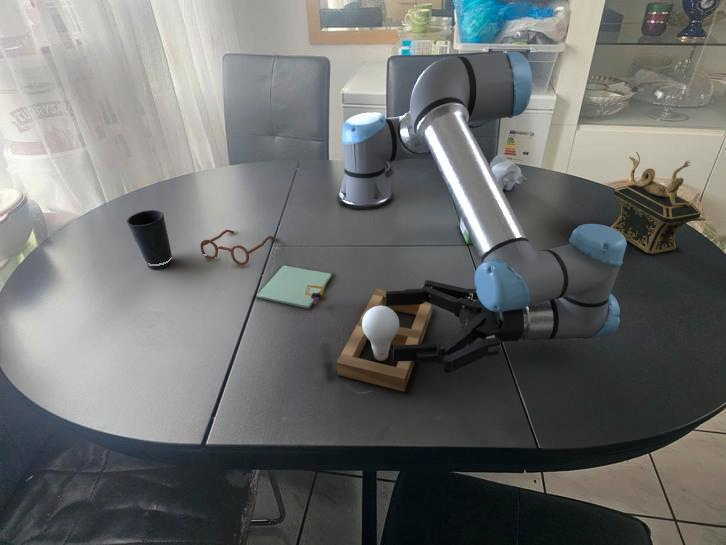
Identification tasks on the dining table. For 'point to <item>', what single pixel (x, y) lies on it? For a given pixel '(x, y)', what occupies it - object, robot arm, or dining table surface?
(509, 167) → the elephant figurine
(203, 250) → the glasses
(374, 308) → the lightbulb
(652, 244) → the decorative box
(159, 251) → the cup
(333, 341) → the dining table surface
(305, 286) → the mat
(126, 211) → the dining table surface
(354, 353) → the holder
